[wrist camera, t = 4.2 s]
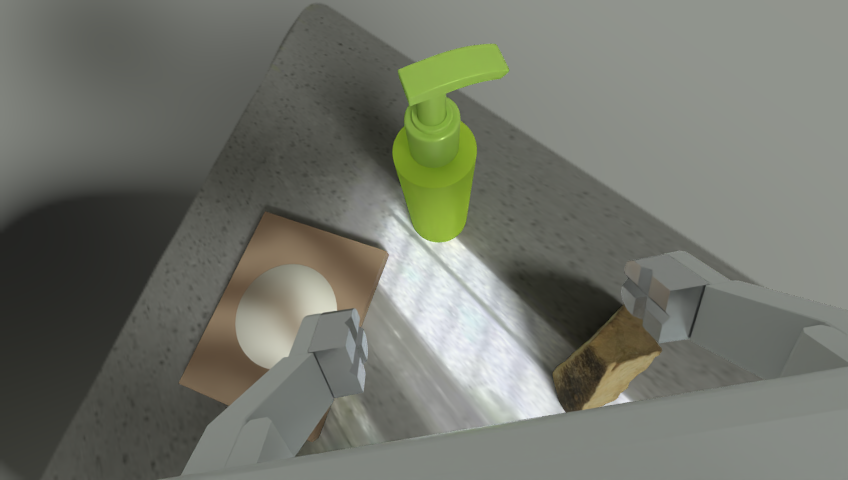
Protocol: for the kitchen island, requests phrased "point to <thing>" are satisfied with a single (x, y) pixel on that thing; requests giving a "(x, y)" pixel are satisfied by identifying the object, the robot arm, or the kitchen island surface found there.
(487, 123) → the kitchen island surface
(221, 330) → the brown flat wooden block
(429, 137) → the soap dispenser
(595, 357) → the rock
